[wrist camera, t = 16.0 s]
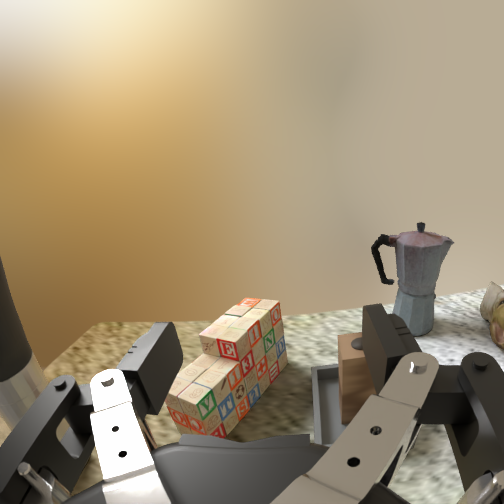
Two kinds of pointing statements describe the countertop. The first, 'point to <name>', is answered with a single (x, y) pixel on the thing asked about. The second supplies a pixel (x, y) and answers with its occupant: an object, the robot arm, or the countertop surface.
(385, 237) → the moka pot
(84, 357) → the countertop surface
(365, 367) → the walnut block
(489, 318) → the ceramic sculpture
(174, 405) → the stack of blocks
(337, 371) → the charcoal tray
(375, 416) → the robot arm
